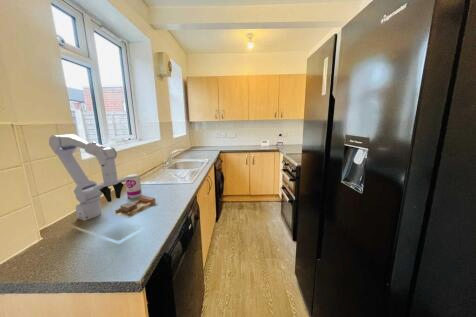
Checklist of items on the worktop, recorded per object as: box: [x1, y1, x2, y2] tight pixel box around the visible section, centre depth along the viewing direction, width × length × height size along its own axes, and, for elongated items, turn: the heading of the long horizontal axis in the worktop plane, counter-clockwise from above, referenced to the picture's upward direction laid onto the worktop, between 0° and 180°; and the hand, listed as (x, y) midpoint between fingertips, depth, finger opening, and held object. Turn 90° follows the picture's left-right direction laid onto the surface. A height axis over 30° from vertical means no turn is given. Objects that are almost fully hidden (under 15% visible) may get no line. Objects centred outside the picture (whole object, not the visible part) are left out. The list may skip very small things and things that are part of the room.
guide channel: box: [112, 195, 158, 218], centre depth 106 cm, size 18×13×4 cm
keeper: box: [119, 201, 137, 213], centre depth 103 cm, size 5×6×4 cm
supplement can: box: [125, 173, 143, 200], centre depth 122 cm, size 8×8×15 cm
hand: (113, 199), depth 94 cm, fingers open, 4 cm apart
